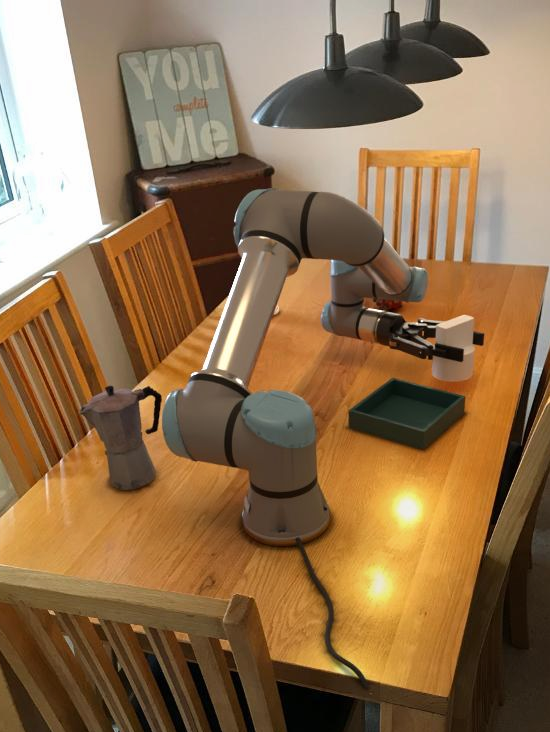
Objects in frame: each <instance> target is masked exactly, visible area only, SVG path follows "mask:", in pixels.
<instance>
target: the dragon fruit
mask: <svg viewBox="0 0 550 732" xmlns="http://www.w3.org/2000/svg"><path fill="white" fill-rule="evenodd" d="M372 302H373V303H375V305H376V306H377V307H381V308H382V310H383V311H386V312H390V311H391V310H392V309H396V310H397V309H401V308H402V307H403V301H394V300H385V299H374V298H372Z"/></svg>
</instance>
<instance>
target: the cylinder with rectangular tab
mask: <svg viewBox="0 0 550 732" xmlns="http://www.w3.org/2000/svg"><path fill="white" fill-rule="evenodd" d="M474 327H475V317H474V316H471V315H468V314H462V315H459V316H457V317H454V318H451V319H448V320H445V321H444V322H443V323H440V324H437V325H436V338H435V339H434V340H435V341H434V342H435V344H436V343H438V344H443V345H447V346H452V347H457V348H461V349H464V357H463V362H458V361H454V360H449V359H445V358H441V357H436V356H434V355H433V360H431V361H432V362H431V363H432V364H431V375H432V376H433V377H434V378H435V379H437V380H440V381H442V382H443V381H444V382H449V383H454V382H457V383H458V382H464V381H466V380H469V379H470V378H472V377H473V374H474V366H475V365H474V364H475V354H476V353H475V351H476V347H475V345H474V344H473V331H475V329H474ZM435 344H433V345H434V346H433V347H435Z"/></svg>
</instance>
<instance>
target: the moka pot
mask: <svg viewBox="0 0 550 732" xmlns="http://www.w3.org/2000/svg"><path fill="white" fill-rule="evenodd" d="M150 396H151V397H153V398H154V405H153V406H154V407H153V421H152V426H151V427H150V428H148V429H146V430H145V431H144V432H145V433H146V434H147V435H151V434H153V433H156V432H158V430H159V423H160V415H161V406H162V402H163V396H162V394H160V393H159V392H158V391H157V390H156V389H154V388H153V387H151V386H150V385H147V386H146V387H143V388H139V389H135V390H131V389H128V388H116V389H114V385H108V386H105V387H104V391H103V392H101V393H97V394H96V395H94V396H92V397H90V399H89V401H88V402H87V403H86V404H83V405H81V408H80V409H79V410H78V414H79V415H82V416H83V417H84V418H85V419H86V420H87V421H88V423H90V425H91V426H92V427H93V428H94V429H95V431H96V432H97V435H98V437H99V440H100V441H101V442H102V443H103V446H104V448H105V450H104V455H106V460H107V467H108V474H109V481H110V486H112V487H113V488H115V489H117V490H121V491H133V490H137V489H140V488H142V487H145V486H147V485H148V484H150V483H151V482H152V481H153V480H154V479H155V477H156V468H155V466H154V463H153V461H152V459H151V456H150V454H149V451H148V449H147V446H146V443H145V442H144V440H143V432H142V430H143V429H142V419H141V408H140V407H141V406H140V401H144V400H145V399H147V398H148V397H150Z"/></svg>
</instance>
